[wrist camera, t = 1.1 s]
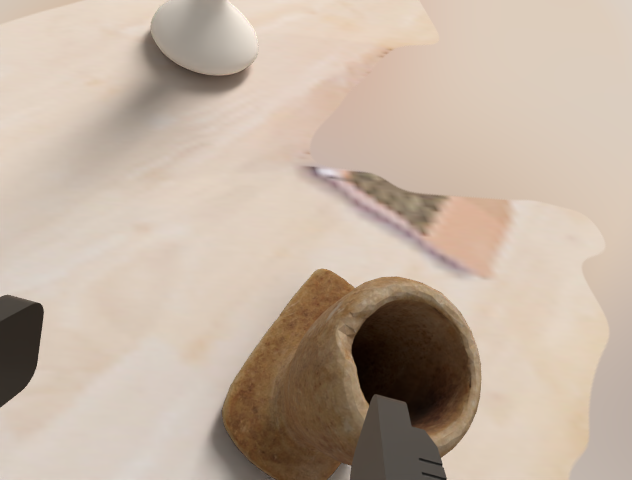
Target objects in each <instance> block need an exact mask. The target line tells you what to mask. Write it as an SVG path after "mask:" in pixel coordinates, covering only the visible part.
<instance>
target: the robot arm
mask: <svg viewBox="0 0 632 480" xmlns="http://www.w3.org/2000/svg"><path fill="white" fill-rule="evenodd" d="M43 315H44V310H43V307H42V305H41V304H40V303H37V302H33V301H29V300H26V299H22V298H18V297H14V296H11V295H4V296H2V297H0V407H2V406H3V405H4V404H5V403H7V402H8V401H9V400H11V399H12V398H13V397H14V396H16V395H17V394H18V393H19V392H21V391H22V390H23V389H24V388H25V387H26V386H27V384H28V383H29V382H30V380H31V378H32V376H33V374H34V372H35V369H36V366H37V361H38V353H39V346H40V338H41V331H42V323H43ZM446 479H447V478H446V475H445V471H444V468H443V467H442V461H441V457H440V454H439V450H438V447H437V446H436V444H435V443H434V442H433V440H432V439H431V438H430V436H429V435H428V434H427V433H426V431H425V430H423V429H419V428H416V427H412V426H411V421H410V417H409V412H408V408H407V404H406V402H403V401H400V400H396V399H392V398H388V397H385V396H381V395H377V394H374V396H373V397H372V399H371V402H370V405H369V408H368V411H367V414H366V417H365V421H364V424H363V427H362V430H361V433H360V436H359V440H358V443H357V446H356V449H355V453H354V457H353V461H352V467H351V475H350V480H446Z"/></svg>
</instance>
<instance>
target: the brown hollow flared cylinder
mask: <svg viewBox="0 0 632 480" xmlns="http://www.w3.org/2000/svg"><path fill="white" fill-rule="evenodd" d="M480 390H481V363H480V358H479V353H478V349H477V346H476V343H475V340H474V338H473V335H472V332H471V330H470V328H469V326H468V325H467V323H466V321H465V319H464V318H463V316H462V314H461V313H460V312H459V310H458V309H457V308H456V307H455V306H454V305H453V304H452V303H451V302H450V301H449V300H448V299H447V298H446V297H445V296H444V295H443V294H442V293H441V292H439V291H437V290H435V289H433V288H431V287H429V286H427V285H425V284H423V283H420V282H417V281H414V280H410V279H405V278H401V277H381V278H378V279H374V280H371V281H368V282H365V283H363V284H362V285H360V286H358V287H357V288H354V287H353V286H352V285H350V284H349V283H348V282H347V281H345V280H344V279H343V278H341V277H340V276H338V275H337V274H335V273H334V272H332V271H330V270H327V269H318V270H316V271H315V272H314V273H313V274H312V275H311V276H310V278H309V279H308V280H307V281H306V282H305V283H304V285H303V286H302V287H301V288H300V289H299V291H298V292H297V293H296V294H295V295H294V297H293V298H292V299H291V300H290V302H289V303H288V304H287V306H286V307H285V308H284V310H283V311H282V313H281V314H280V316H279V318H278V319H277V320H276V321H275V322H274V323H273V325H272V326H271V327H270V328H269V330H268V331H267V332H266V334H265V335H264V337H263V338H262V339H261V341H260V342H259V344H258V345H257V346H256V348H255V349H254V351H253V352H252V353H251V355H250V356H249V358H248V359H247V361H246V362H245V364H244V365H243V367H242V368H241V370H240V371H239V373H238V374H237V376H236V377H235V379H234V381H233V383H232V384H231V386H230V388H229V391H228V394H227V396H226V399H225V402H224V405H223V408H222V417H223V422H224V426H225V428H226V430H227V432H228V434H229V436H230V437H231V439H232V440H233V442H234V443H235V445H236V446H237V447H238V449H239V450H240V451H241V452H242V453H243V454H244V455H245V457H246V458H247V459H248V460H249V461H250V462H251V463H253V464H254V465H255V466H256V467H258V468H259V469H261V470H262V471H263V472H265V473H266V474H268V475H269V476H271V477H273V478H274V479H276V480H327V479H328V478H329V477H330V476H331V475H332V474H333V473H334V472H335V470H336V469H337V468H338V466H339V465H340V464H341V463H344V464H348V465H351V466H352V461H353V457H354V453H355V449H356V446H357V443H358V440H359V436H360V433H361V430H362V427H363V424H364V421H365V417H366V414H367V411H368V408H369V405H370V402H371V399H372V397H373V396H374V394H377V395H381V396H385V397H388V398H392V399H396V400H400V401H403V402H406V404H407V408H408V412H409V417H410V421H411V426H412V427H416V428H419V429H423V430H425V431H426V433H427V434H428V435H429V436H430V438H431V439H432V440H433V442H434V443H435V444H436V446H437V447H438V450H439V454H440V457H443V456H444V455H445V454H447V453H448V452H449V451H451V450H452V449H453V448H454V447H455V446H456V445H457V444H458V443H459V441H460V440H461V439H462V438H463V436H464V435H465V434H466V432H467V431H468V429H469V427H470V425H471V423H472V421H473V419H474V416H475V414H476V412H477V407H478V403H479V399H480Z"/></svg>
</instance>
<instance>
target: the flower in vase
mask: <svg viewBox="0 0 632 480" xmlns="http://www.w3.org/2000/svg"><path fill="white" fill-rule="evenodd" d="M150 27H151V34H152V37H153V39H154V41H155V42H156V44H157V46H158V47H159V48H160V50H161V51H162V52H163V53H164V54H165V55H166V56H167V57H168V58H169V59H171V60H172V61H173V62H175V63H176V64H178V65H180V66H182V67H184V68H186V69H188V70H191V71H194V72H197V73H201V74H206V75H219V76H221V75H230V74H234V73H237V72H240V71H242V70H243V69H245V68H246V67H248V66H249V65H251V64H252V63H253V62H254V60H255V59H256V57H257V55H258V40H257V35H256V33H255V30H254V29H253V27H252V26H251V24H250V23H249V21H248V20H247V19H246V17H245V16H244V15H243V14H242V13H241V12H240V11H239V10H238V9H237V8H236V7H235V6H233V5H232V4H231V3H230V2H229V1H228V0H170V1H168V2H166V3H164V4H163V5H161V6H160V7H159V8H158V10H157V11H156V13H155V15H154V16H153V18H152V21H151V26H150Z"/></svg>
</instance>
